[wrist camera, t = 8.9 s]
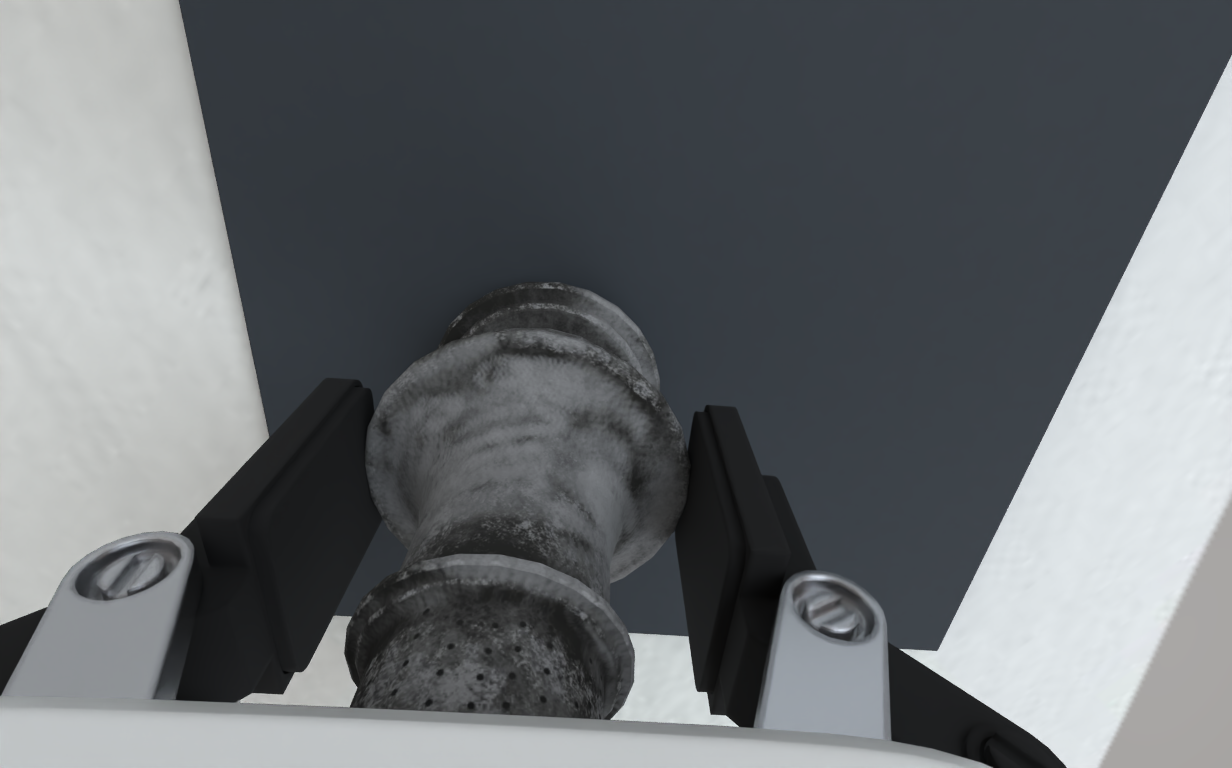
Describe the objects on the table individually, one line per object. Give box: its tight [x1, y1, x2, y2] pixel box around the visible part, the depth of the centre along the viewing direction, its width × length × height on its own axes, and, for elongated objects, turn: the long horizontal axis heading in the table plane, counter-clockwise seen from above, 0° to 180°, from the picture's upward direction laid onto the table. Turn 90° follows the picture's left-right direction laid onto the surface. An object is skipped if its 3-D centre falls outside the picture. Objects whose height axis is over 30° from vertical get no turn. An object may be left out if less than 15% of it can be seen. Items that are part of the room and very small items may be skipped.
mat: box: [179, 0, 1232, 651], centre depth 15 cm, size 20×18×1 cm
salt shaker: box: [344, 282, 691, 720], centre depth 9 cm, size 6×6×12 cm
